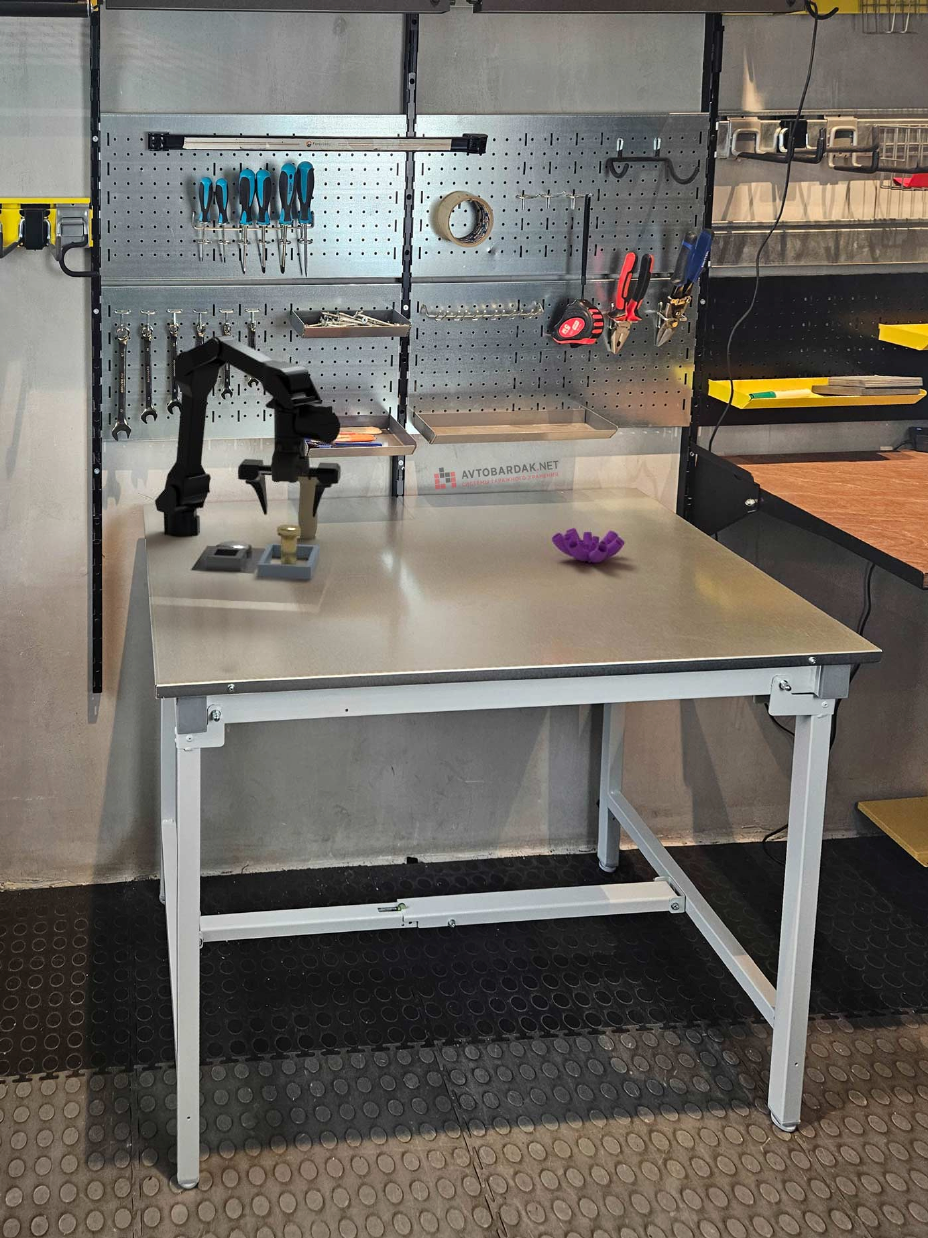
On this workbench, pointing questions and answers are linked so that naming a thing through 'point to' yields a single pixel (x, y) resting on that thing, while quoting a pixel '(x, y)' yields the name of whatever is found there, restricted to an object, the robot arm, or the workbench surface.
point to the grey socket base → (229, 558)
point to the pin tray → (287, 569)
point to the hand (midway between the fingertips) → (289, 515)
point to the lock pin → (288, 543)
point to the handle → (307, 508)
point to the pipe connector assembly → (588, 545)
